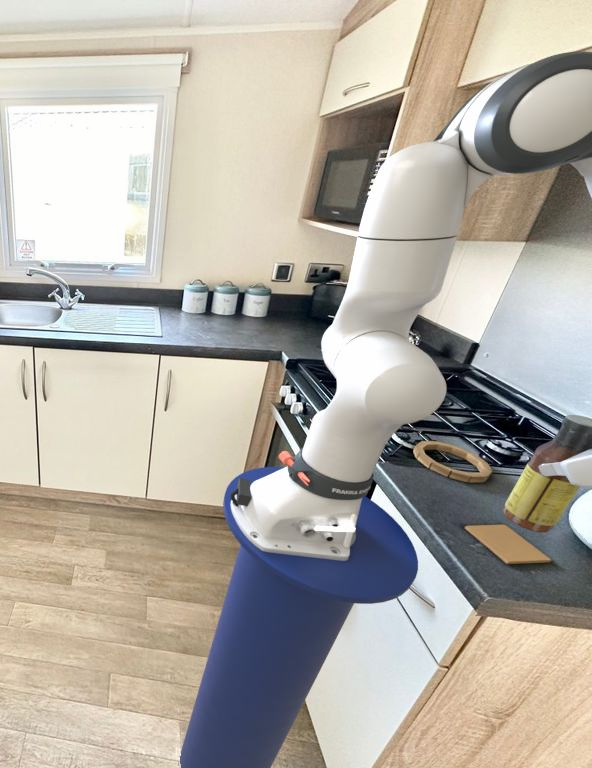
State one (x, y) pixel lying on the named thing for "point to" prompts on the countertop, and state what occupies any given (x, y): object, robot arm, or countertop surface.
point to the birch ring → (446, 471)
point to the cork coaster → (507, 544)
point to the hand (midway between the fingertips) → (554, 464)
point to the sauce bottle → (548, 478)
